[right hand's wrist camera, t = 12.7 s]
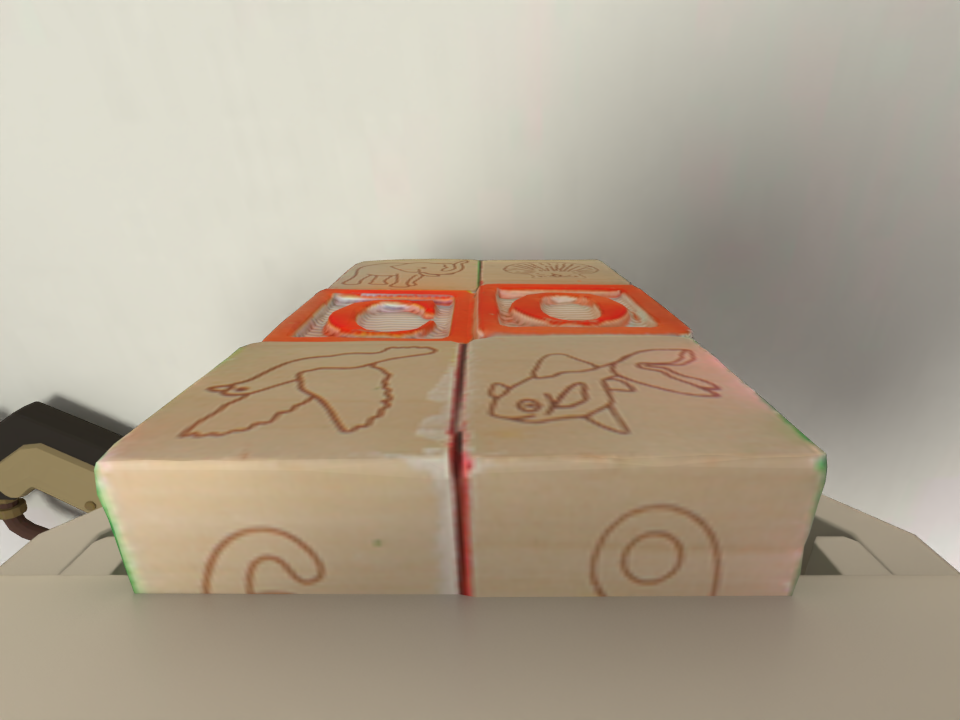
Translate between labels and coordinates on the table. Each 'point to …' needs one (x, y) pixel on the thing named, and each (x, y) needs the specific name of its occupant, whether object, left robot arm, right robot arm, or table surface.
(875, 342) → the table surface
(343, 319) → the stack of blocks
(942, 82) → the table surface
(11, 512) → the spray gun
